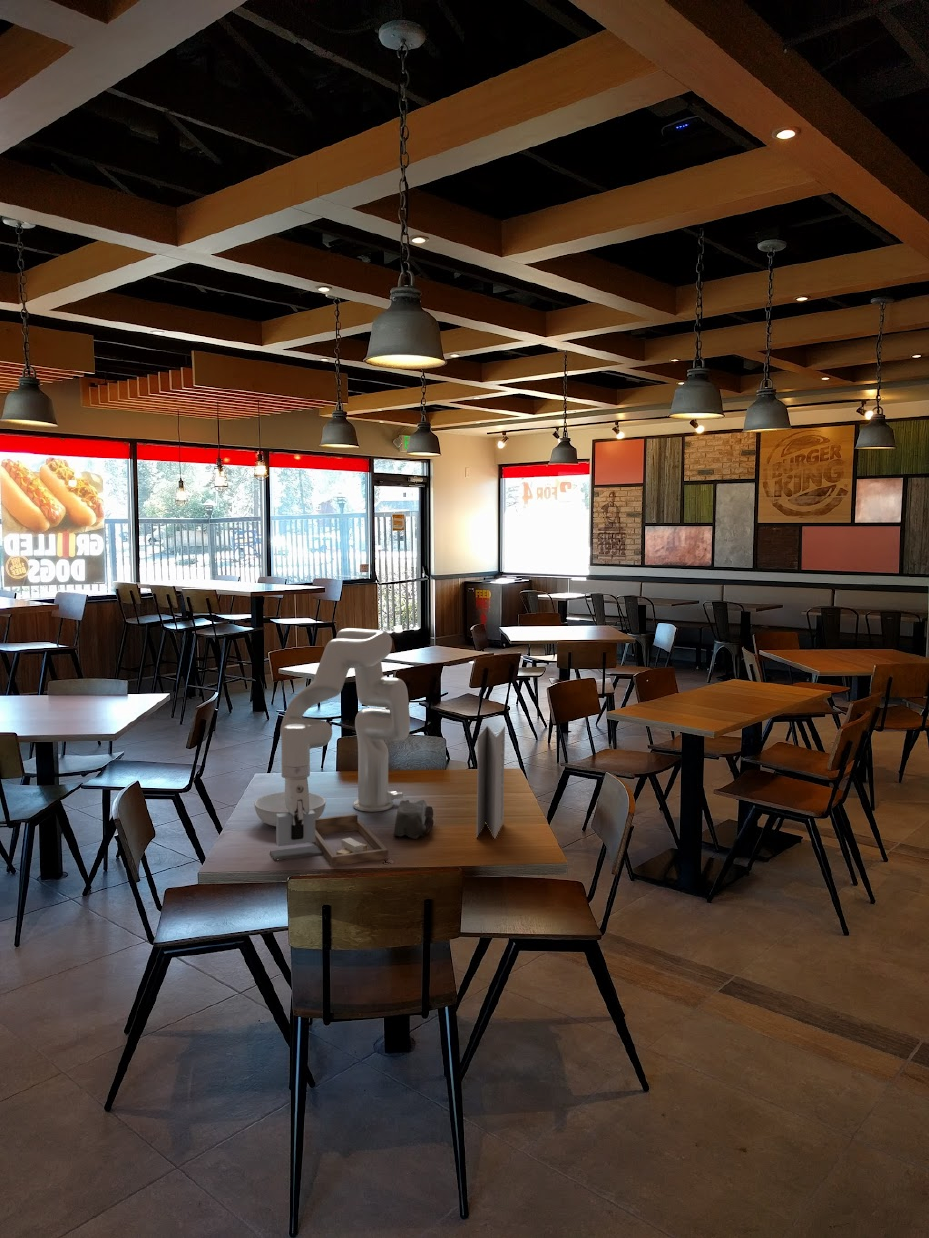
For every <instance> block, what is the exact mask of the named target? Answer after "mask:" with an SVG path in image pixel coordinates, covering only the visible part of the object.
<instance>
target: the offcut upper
mask: <svg viewBox="0 0 929 1238" xmlns="http://www.w3.org/2000/svg"><path fill="white" fill-rule="evenodd" d="M361 843H362V842H360V841H357V840H355V839H354V838H351V837H348V838H347V837H346V838H342V839H341V847H342V848H344V849H345V848H346V849H348V850H350V851H352V852H353V853H356V852H362V851H363V844H364V843H363V844H361Z"/></svg>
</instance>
